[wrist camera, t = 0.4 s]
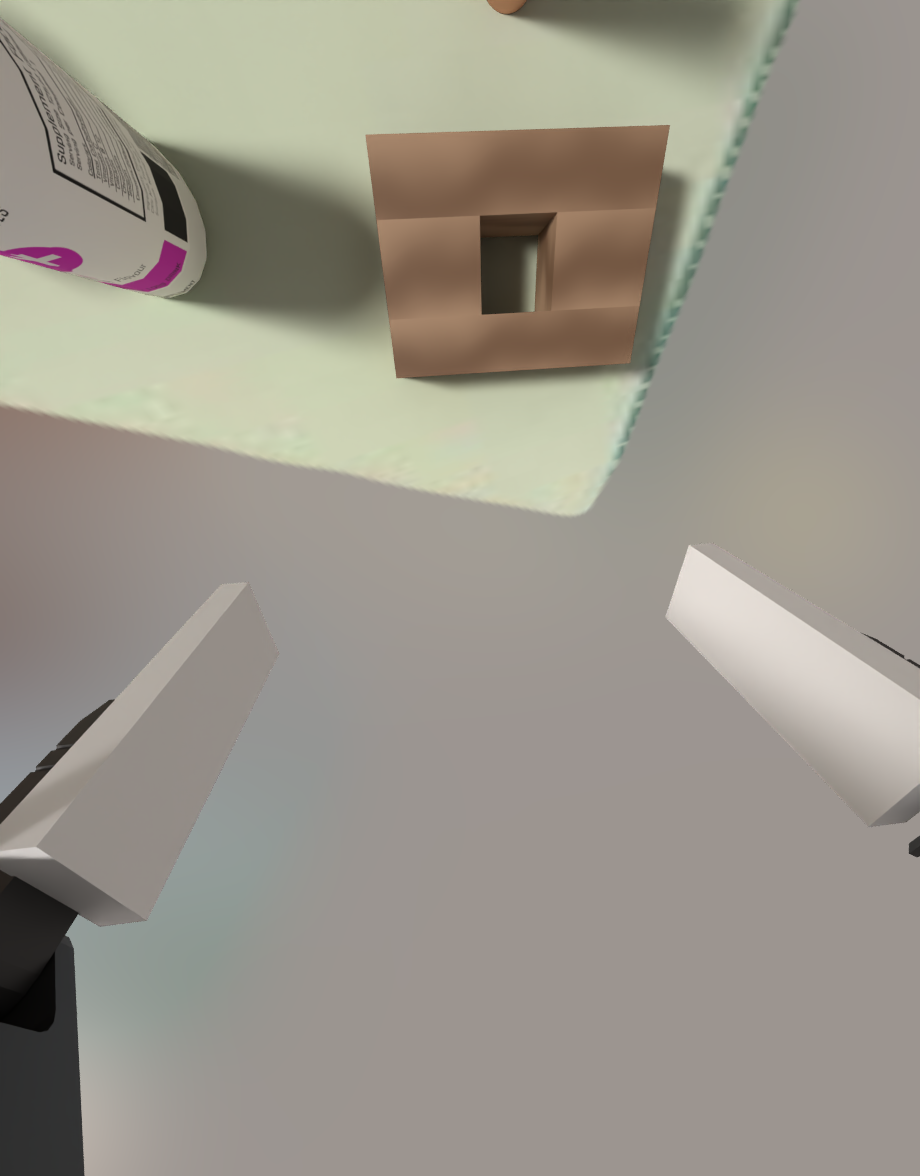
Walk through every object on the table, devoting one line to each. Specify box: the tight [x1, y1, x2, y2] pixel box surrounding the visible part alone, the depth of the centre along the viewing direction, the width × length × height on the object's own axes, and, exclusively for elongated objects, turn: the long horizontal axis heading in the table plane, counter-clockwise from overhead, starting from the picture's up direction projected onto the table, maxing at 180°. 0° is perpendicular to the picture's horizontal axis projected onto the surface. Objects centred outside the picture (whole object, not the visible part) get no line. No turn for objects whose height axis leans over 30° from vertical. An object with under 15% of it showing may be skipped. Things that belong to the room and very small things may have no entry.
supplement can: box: [0, 18, 207, 298], centre depth 18 cm, size 8×8×15 cm
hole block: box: [366, 125, 670, 378], centre depth 26 cm, size 12×18×4 cm, turn 93°
